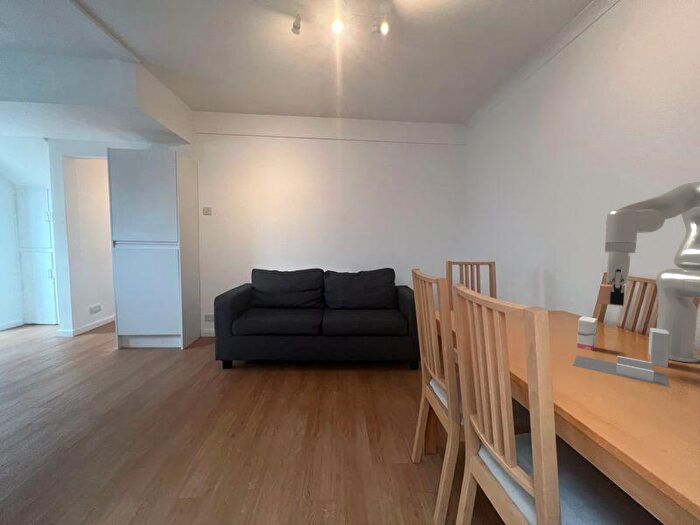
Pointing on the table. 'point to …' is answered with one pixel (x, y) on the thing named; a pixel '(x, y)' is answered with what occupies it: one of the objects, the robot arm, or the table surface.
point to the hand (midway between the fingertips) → (616, 302)
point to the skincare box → (659, 347)
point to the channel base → (624, 369)
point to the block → (607, 294)
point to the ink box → (587, 333)
